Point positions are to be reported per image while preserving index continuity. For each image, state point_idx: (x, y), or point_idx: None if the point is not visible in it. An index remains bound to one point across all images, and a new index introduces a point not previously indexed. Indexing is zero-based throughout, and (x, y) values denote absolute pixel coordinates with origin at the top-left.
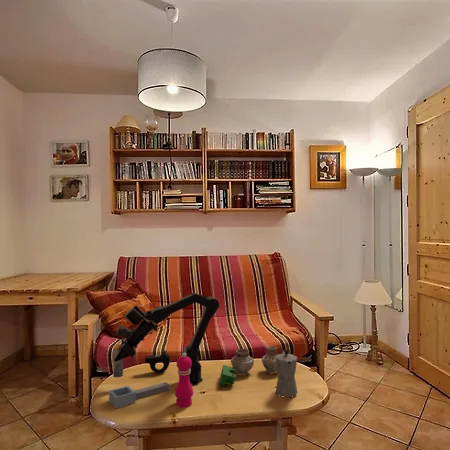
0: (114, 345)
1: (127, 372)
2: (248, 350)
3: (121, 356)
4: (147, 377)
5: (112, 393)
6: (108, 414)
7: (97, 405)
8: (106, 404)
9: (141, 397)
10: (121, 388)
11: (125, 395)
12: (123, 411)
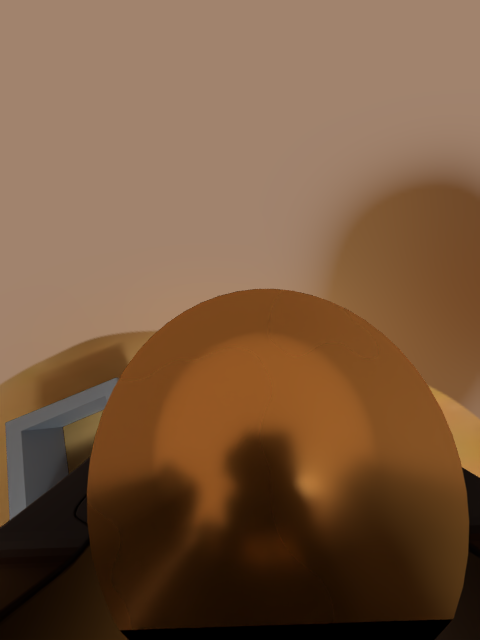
0: (273, 316)
1: (469, 454)
2: None
3: None
4: None
5: (70, 399)
6: (13, 393)
7: (112, 341)
8: (106, 376)
9: None
10: None
11: (8, 481)
12: (3, 460)
